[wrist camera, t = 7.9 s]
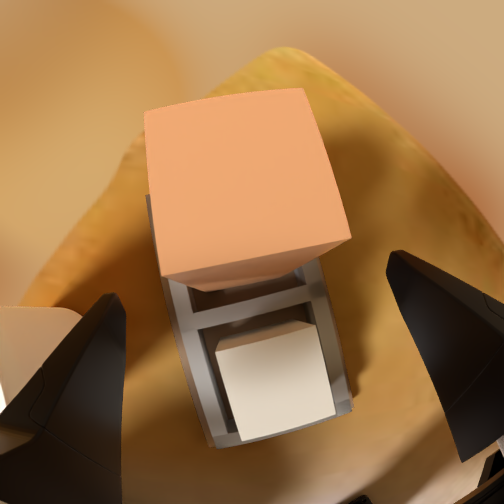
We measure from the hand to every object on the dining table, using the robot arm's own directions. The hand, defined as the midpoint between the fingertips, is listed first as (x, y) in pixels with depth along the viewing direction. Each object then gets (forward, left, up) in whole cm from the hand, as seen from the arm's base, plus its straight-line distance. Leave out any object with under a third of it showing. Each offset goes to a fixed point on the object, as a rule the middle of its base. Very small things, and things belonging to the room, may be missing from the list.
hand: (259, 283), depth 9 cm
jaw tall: (+3, -1, -11) cm, 12 cm away
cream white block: (-5, +1, -11) cm, 12 cm away
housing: (-1, 0, -12) cm, 12 cm away
